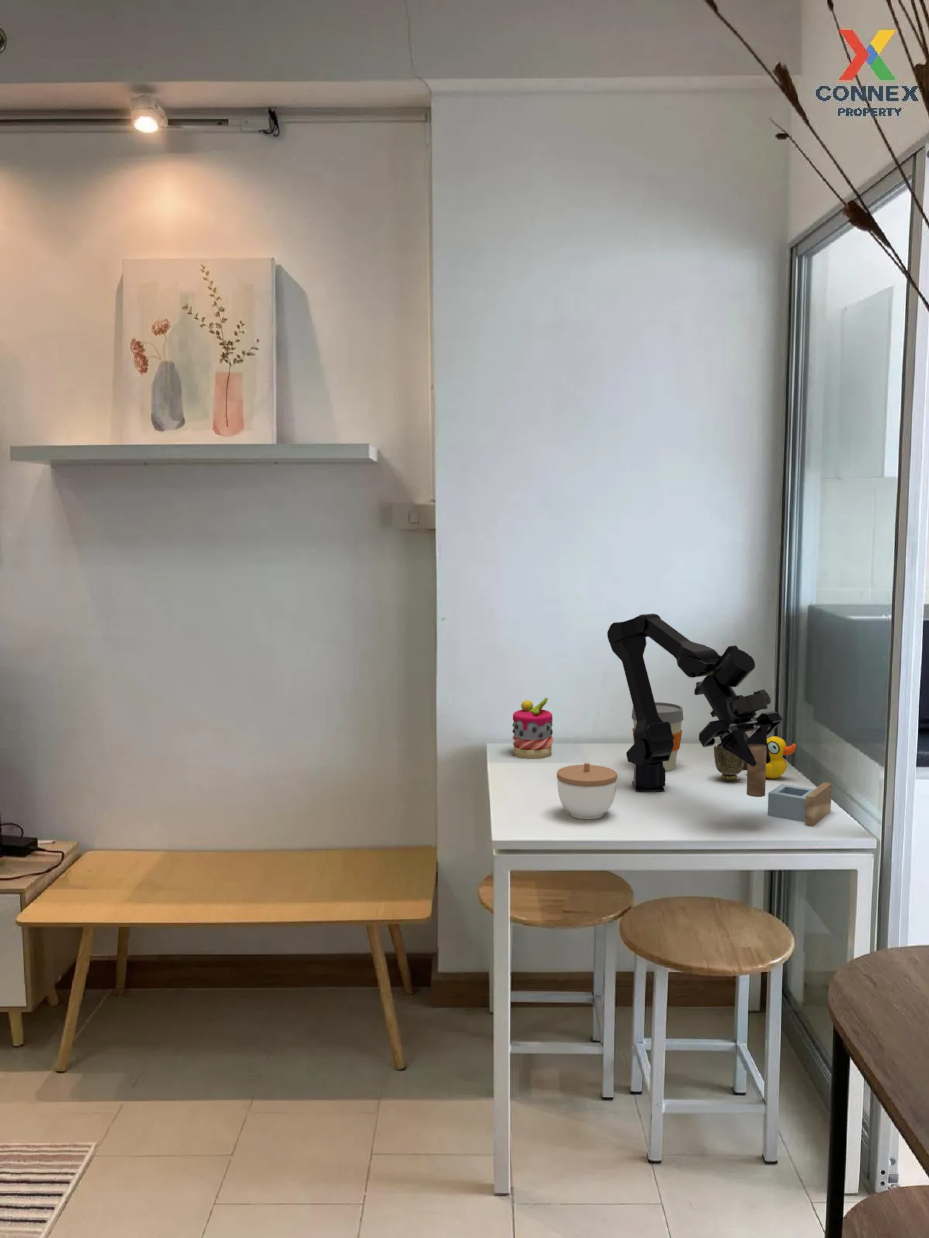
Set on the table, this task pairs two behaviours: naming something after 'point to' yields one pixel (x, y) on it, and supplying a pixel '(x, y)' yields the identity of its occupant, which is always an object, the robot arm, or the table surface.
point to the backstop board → (818, 804)
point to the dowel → (757, 771)
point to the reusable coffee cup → (675, 718)
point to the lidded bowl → (586, 790)
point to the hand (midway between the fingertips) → (761, 763)
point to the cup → (727, 763)
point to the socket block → (788, 802)
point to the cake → (532, 731)
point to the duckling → (777, 756)
